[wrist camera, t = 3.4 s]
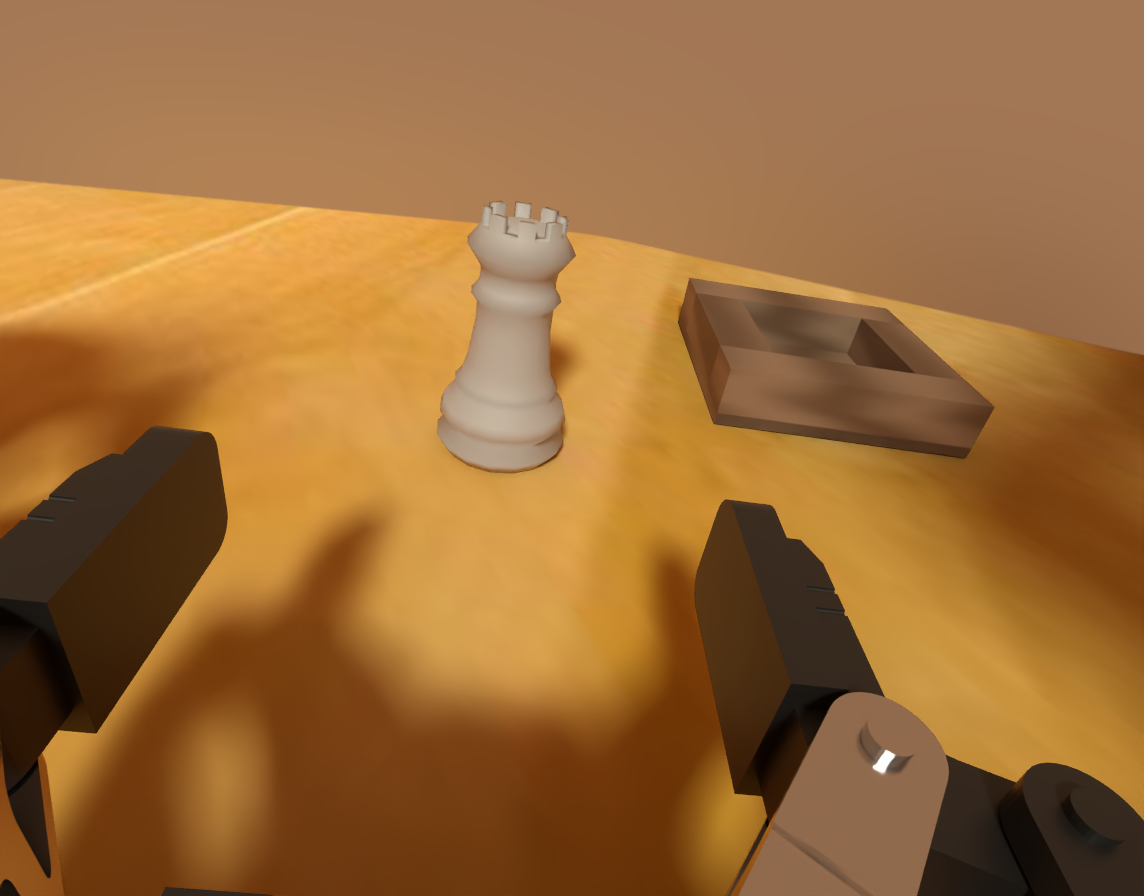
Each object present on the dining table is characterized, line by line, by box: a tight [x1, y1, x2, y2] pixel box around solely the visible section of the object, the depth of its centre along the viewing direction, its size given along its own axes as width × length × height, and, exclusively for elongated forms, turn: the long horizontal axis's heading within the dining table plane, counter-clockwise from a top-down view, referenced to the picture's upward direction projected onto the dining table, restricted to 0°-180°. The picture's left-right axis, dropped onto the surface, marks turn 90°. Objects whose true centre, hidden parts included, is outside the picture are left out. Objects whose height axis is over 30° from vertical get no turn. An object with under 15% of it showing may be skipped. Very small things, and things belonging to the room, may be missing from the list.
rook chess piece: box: [437, 201, 576, 473], centre depth 22 cm, size 4×4×8 cm
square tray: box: [678, 278, 994, 458], centre depth 32 cm, size 11×11×2 cm
